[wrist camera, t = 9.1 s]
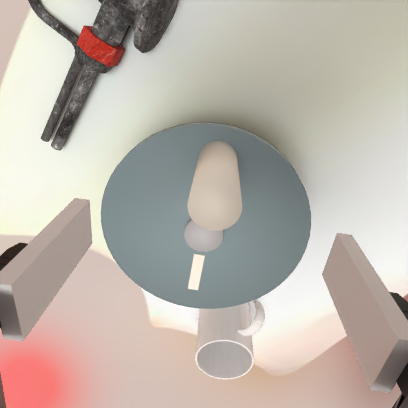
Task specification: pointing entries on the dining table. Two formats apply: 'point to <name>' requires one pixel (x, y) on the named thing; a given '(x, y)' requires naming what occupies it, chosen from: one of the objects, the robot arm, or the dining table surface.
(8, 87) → the dining table surface
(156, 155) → the handwheel
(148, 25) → the dark grey forked tool
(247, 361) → the mug
